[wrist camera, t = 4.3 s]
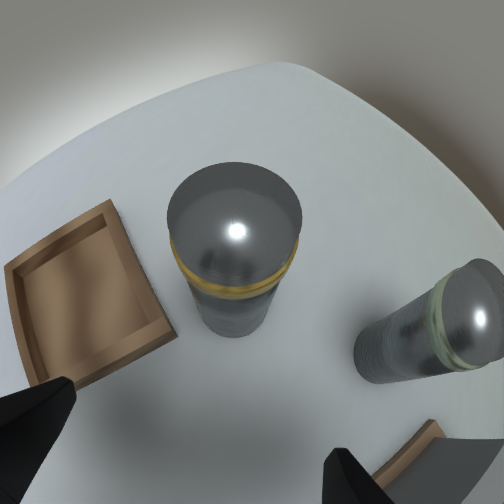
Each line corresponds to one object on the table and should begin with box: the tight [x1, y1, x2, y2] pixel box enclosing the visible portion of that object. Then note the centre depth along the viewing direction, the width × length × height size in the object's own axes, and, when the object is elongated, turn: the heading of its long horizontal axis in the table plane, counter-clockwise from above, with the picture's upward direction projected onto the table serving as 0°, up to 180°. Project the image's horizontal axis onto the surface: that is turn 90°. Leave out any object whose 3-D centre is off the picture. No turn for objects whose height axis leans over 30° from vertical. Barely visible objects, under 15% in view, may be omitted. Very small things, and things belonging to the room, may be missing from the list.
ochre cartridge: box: [167, 162, 302, 338], centre depth 17 cm, size 6×6×13 cm
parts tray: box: [4, 199, 178, 391], centre depth 20 cm, size 14×14×3 cm
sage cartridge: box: [354, 259, 504, 384], centre depth 16 cm, size 6×6×13 cm
